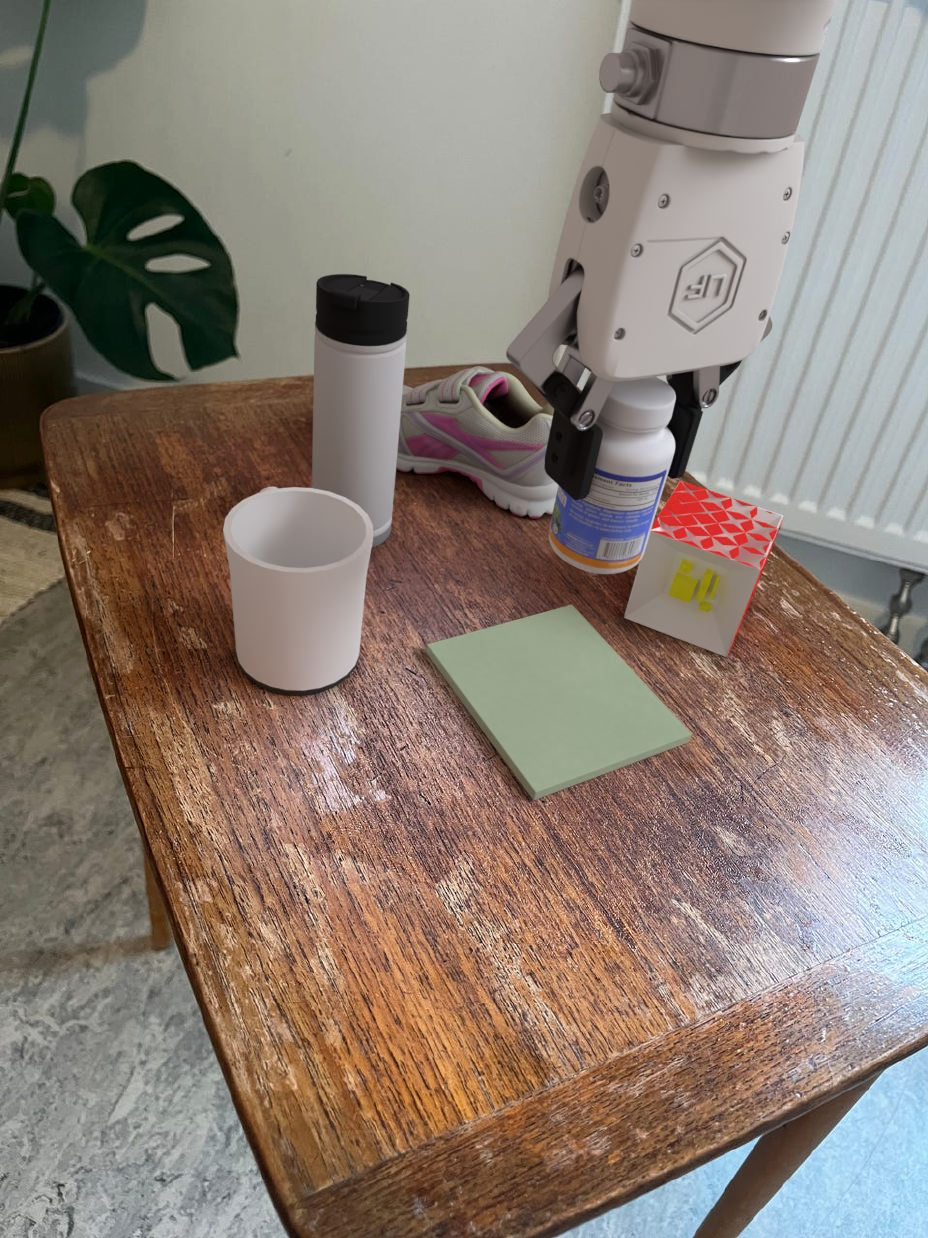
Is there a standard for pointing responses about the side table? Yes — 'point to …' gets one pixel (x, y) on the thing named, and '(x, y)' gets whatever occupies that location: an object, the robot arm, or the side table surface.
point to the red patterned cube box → (702, 567)
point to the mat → (556, 699)
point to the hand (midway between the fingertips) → (614, 472)
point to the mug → (297, 586)
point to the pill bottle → (619, 481)
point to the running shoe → (480, 437)
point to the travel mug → (359, 392)
